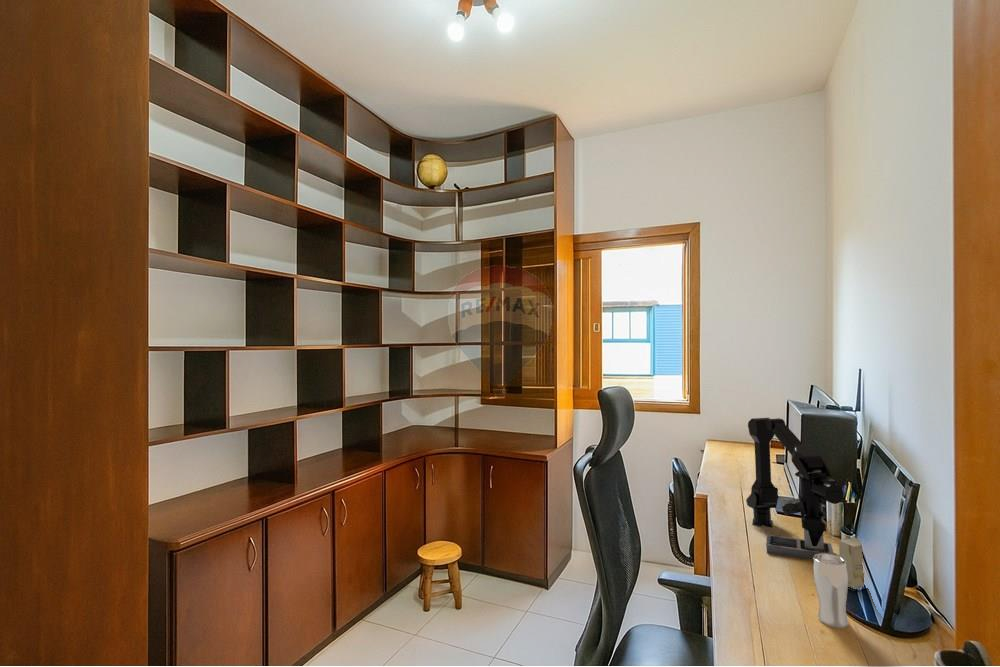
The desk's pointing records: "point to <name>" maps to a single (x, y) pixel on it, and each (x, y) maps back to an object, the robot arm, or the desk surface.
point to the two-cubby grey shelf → (793, 551)
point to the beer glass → (831, 589)
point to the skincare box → (853, 561)
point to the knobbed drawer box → (809, 545)
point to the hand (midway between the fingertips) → (813, 542)
